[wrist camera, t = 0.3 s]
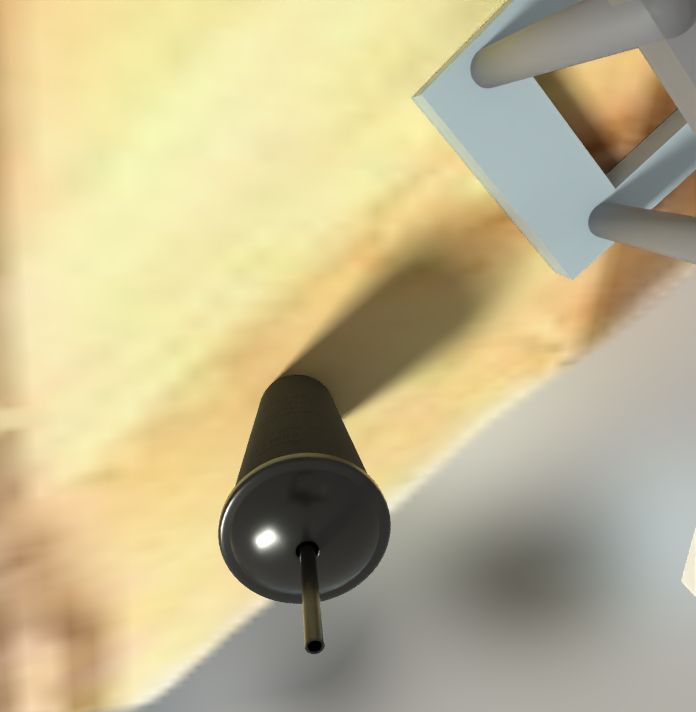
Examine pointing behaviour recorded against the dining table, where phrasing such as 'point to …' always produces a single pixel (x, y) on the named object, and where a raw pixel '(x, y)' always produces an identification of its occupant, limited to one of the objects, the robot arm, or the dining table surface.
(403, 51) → the dining table surface
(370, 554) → the drinking cup
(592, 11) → the grey arch frame
